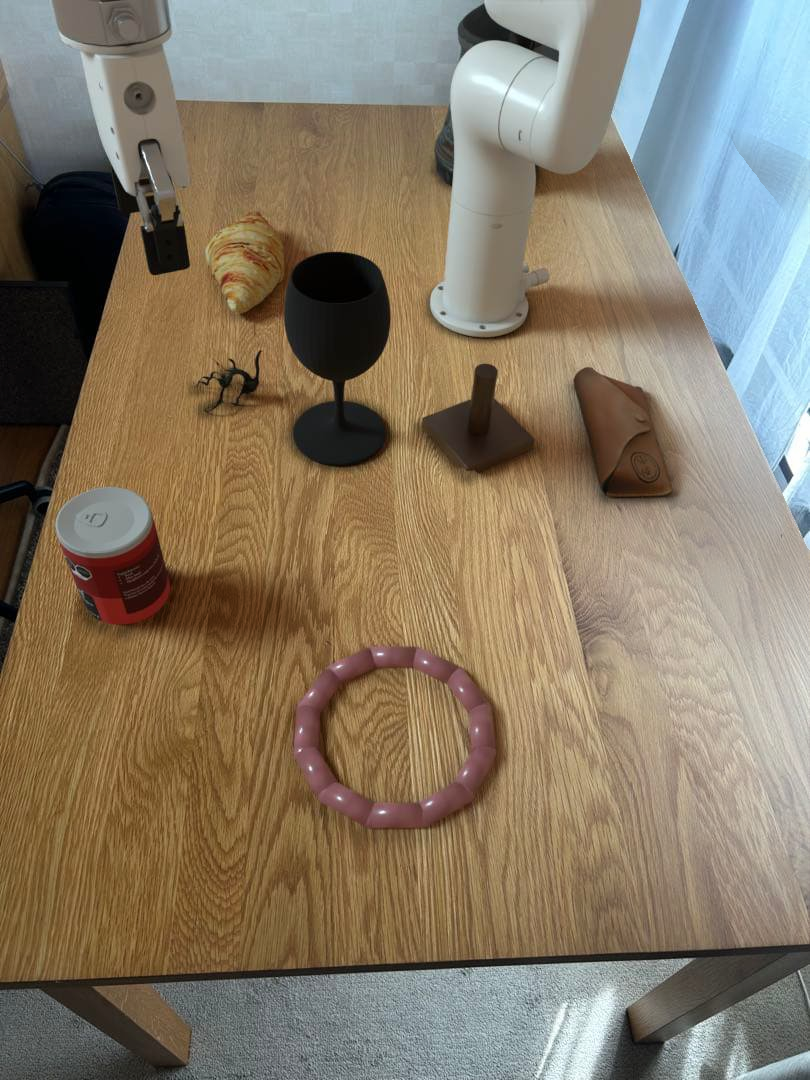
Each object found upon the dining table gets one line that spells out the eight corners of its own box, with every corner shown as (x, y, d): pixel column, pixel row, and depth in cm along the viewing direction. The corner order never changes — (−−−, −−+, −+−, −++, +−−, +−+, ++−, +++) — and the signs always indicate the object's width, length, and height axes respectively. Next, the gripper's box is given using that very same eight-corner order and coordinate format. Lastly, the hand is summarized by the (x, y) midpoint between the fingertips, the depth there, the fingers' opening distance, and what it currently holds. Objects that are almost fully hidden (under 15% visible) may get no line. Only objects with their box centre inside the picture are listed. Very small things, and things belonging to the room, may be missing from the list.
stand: (486, 402, 104) (496, 334, 97) (533, 449, 99) (547, 381, 92) (421, 427, 101) (426, 359, 94) (466, 477, 96) (475, 410, 89)
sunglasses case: (679, 493, 95) (661, 454, 90) (615, 517, 97) (595, 480, 93) (641, 383, 107) (623, 344, 102) (585, 407, 109) (565, 369, 104)
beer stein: (485, 135, 147) (504, -38, 128) (575, 182, 139) (610, 4, 120) (411, 166, 140) (420, -14, 121) (501, 218, 131) (526, 33, 112)
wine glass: (399, 416, 102) (407, 260, 87) (367, 477, 95) (369, 320, 80) (314, 393, 104) (307, 237, 89) (277, 452, 97) (262, 294, 82)
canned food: (90, 566, 86) (61, 487, 78) (175, 563, 87) (155, 484, 78) (78, 632, 81) (46, 555, 73) (168, 628, 82) (147, 551, 74)
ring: (425, 626, 83) (426, 614, 82) (532, 770, 74) (535, 758, 73) (261, 706, 77) (260, 693, 76) (357, 872, 68) (357, 862, 67)
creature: (189, 419, 102) (254, 418, 100) (172, 381, 98) (239, 379, 96) (213, 376, 107) (275, 374, 105) (197, 338, 103) (261, 336, 101)
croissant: (264, 344, 115) (291, 298, 109) (189, 312, 111) (212, 263, 105) (275, 250, 128) (299, 205, 123) (208, 218, 124) (230, 170, 119)
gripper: (203, 52, 57) (230, 286, 70) (136, -37, 67) (170, 182, 80) (83, 68, 55) (134, 306, 68) (32, -27, 65) (85, 196, 78)
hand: (153, 239), depth 74 cm, fingers open, 9 cm apart
